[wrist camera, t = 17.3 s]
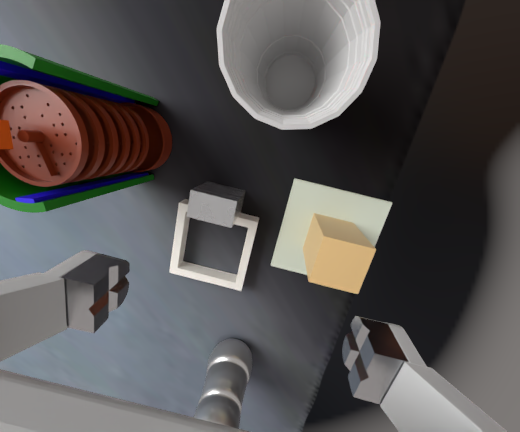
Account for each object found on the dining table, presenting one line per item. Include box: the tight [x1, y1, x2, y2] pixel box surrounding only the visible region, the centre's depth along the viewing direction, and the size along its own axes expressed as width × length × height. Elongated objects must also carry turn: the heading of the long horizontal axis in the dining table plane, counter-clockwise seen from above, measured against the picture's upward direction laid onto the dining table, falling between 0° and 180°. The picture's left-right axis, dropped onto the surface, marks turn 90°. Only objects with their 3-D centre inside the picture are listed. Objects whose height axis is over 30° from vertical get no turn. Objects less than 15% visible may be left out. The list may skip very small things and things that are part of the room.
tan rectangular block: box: [303, 213, 376, 294], centre depth 28 cm, size 5×5×8 cm
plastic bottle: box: [193, 338, 253, 429], centre depth 29 cm, size 6×7×20 cm
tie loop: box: [169, 181, 259, 291], centre depth 31 cm, size 13×10×6 cm
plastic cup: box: [217, 0, 380, 130], centre depth 22 cm, size 11×11×12 cm
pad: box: [271, 178, 392, 275], centre depth 32 cm, size 12×12×1 cm
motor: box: [0, 44, 172, 212], centre depth 21 cm, size 10×9×20 cm
